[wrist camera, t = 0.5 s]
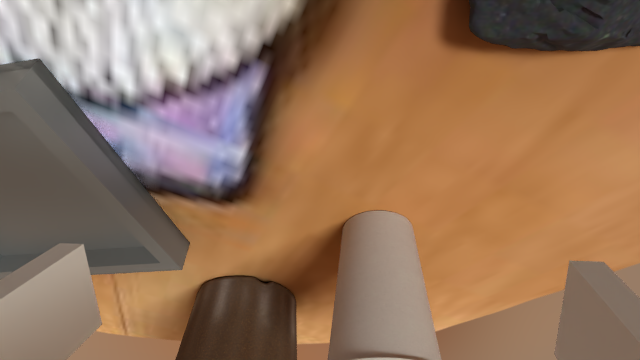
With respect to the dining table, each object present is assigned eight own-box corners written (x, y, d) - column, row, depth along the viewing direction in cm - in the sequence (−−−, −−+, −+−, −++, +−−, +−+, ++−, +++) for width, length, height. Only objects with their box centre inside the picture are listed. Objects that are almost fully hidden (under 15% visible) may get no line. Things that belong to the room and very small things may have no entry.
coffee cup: (368, 265, 44) (373, 427, 35) (305, 226, 39) (290, 404, 30) (449, 234, 39) (481, 415, 29) (388, 185, 34) (403, 384, 24)
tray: (-225, 101, 30) (-264, 130, 28) (39, 58, 26) (14, 88, 24) (6, 255, 46) (-9, 280, 44) (189, 243, 42) (182, 269, 41)
